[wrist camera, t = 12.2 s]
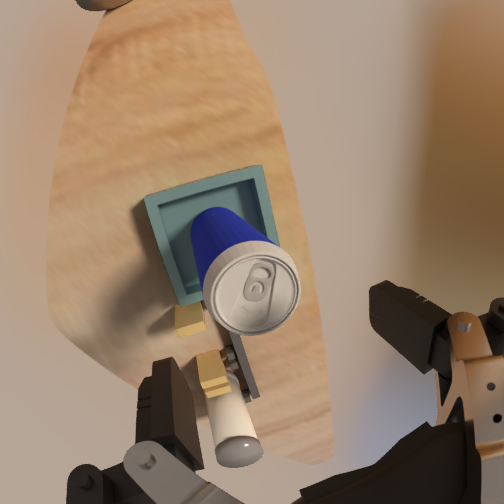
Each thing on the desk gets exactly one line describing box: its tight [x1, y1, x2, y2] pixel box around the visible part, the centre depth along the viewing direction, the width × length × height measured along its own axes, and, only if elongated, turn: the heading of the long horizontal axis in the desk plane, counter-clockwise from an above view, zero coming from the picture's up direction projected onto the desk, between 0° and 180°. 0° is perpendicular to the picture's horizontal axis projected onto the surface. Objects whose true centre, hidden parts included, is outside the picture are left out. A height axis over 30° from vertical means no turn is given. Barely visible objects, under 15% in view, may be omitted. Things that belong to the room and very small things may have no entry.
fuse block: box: [175, 301, 260, 403], centre depth 30 cm, size 17×6×5 cm, turn 14°
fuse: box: [203, 370, 263, 468], centre depth 28 cm, size 5×5×12 cm
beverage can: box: [190, 207, 301, 336], centre depth 21 cm, size 5×5×15 cm
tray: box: [144, 165, 280, 307], centre depth 27 cm, size 11×11×3 cm
